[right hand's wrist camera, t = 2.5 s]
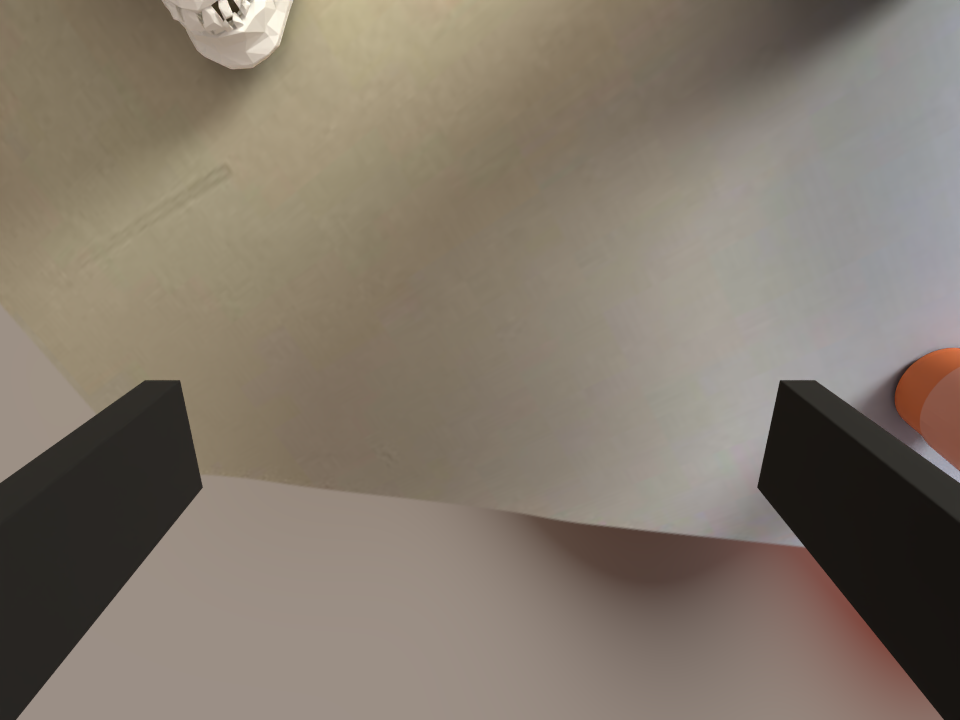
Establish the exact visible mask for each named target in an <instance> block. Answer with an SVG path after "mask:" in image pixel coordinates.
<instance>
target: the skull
mask: <svg viewBox="0 0 960 720" xmlns="http://www.w3.org/2000/svg"><path fill="white" fill-rule="evenodd" d="M216 1H218V5H219V9H220V11H221V13H222V15H223V18H224V19H225V20H224V21H223V20H222V18H221V17H220V16H219V14H218V13H217V12H216V11H215V9H214V8H213V7H212V6H211V5H212V4H213V3H215V2H216ZM162 2H163V3H164V5H165V6H166V8H167V9H168V10H169V11H170V13H171V15H172V17H173V19H175V20H177V21H179V22H180V23H181V24H182V26H183V27H184V28H185V29H186V31H187V34H188V35H189V37H190V39H191V41H192V43H193V44H194V46H195V48H196V50H197V51H198V52H200V53H201V54H202V55H203V56H204V57H206V58H208V59H210V60H212V61H215V62H217V63H219V64H221V65H223V66H225V67H227V68H229V69H246V68H253V67H255V66H256V65H258V64H259V63H261V62H262V61H264V60H265V59H267V58H268V57H269V56H270V55H271V54H272V53H273V52H274V51H275V50H276V49H277V48H278V47H279V45H280V42H281V39H282V35H283V32H284V28H285V25H286V22H287V18H288V15H289V11H290V8H291V5H292V3H293V0H234V2H235V3H236V5H237V6H238V7H239V9H240V10H239V11H238V13H235V12H234V13H232V11H231V8H230V6H229V3H228V1H227V0H162ZM232 16H233V19H232V20H230V21H229V22H227V21H226V19H228V18H230V17H232Z"/></svg>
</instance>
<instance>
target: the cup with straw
mask: <svg viewBox="0 0 960 720" xmlns="http://www.w3.org/2000/svg"><path fill="white" fill-rule="evenodd" d="M895 406H896V409H897V411H898V413H899V415H900V416H901V418H902V419H903V420H904V421H905V422H906V423H908V424H909V425H910V426H911V427H912V428H913V429H915V430H916V431H917V432H918V433H919V434H921V435H922V436H923V437H924V439H925V441H926V442H927V443H928V445H929V446H930V447H932V448H933V449H934V450H935V451H936V452H938V453H939V454H940V455H941V456H942V457H943V458H945V459H946V460H947V461H948V462H949V463H951V464H952V465H953V466H954V467H955V468H956V469H958V470H959V471H960V348H946V349H941V350H937V351H934V352H931V353H929V354H927V355H925V356H923V357H922V358H920V359H919V360H917V361H916V362H915V363H913V364H912V365H911V366H910V367H909V368H908V369H907V370H906V372H905V373H904V374H903V376H902V377H901V379H900V381H899V383H898V385H897V388H896V392H895Z"/></svg>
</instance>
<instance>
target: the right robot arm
mask: <svg viewBox="0 0 960 720" xmlns="http://www.w3.org/2000/svg"><path fill="white" fill-rule="evenodd" d="M202 488H203V487H202V482H201V478H200V473H199V468H198V463H197V458H196V454H195V449H194V444H193V440H192V435H191V430H190V425H189V421H188V416H187V411H186V407H185V402H184V397H183V392H182V388H181V383H180V380H145V381H143V382H142V383H141V384H139V385H138V386H136V387H135V388H134V389H132V390H131V391H129V392H128V393H127V394H125V395H124V396H122V397H121V398H119V399H118V400H117V401H115V402H114V403H112V404H111V405H110V406H108V407H107V408H105V409H104V410H103V411H101V412H100V413H98V414H97V415H96V416H94V417H93V418H91V419H90V420H89V421H87V422H86V423H84V424H83V425H82V426H80V427H79V428H77V429H76V430H74V431H73V432H72V433H70V434H69V435H67V436H66V437H65V438H63V439H62V440H60V441H59V442H58V443H56V444H55V445H53V446H52V447H51V448H49V449H48V450H46V451H45V452H43V453H42V454H41V455H39V456H38V457H36V458H35V459H34V460H32V461H31V462H29V463H28V464H27V465H25V466H24V467H22V468H21V469H20V470H18V471H17V472H15V473H14V474H12V475H11V476H10V477H8V478H7V479H5V480H4V481H3V482H1V483H0V720H16V719H17V718H18V717H19V715H20V714H21V713H22V712H23V710H24V709H25V708H26V707H27V705H28V704H29V703H30V702H31V700H32V699H33V698H34V697H35V695H36V694H37V693H38V692H39V690H40V689H41V688H42V687H43V685H44V684H45V683H46V682H47V680H48V679H49V678H50V677H51V675H52V674H53V673H54V672H55V670H56V669H57V668H58V667H59V666H60V664H61V663H62V662H63V660H64V659H65V658H66V657H67V656H68V654H69V653H70V652H71V651H72V649H73V648H74V647H75V646H76V644H77V643H78V642H79V641H80V639H81V638H82V637H83V636H84V634H85V633H86V632H87V631H88V629H89V628H90V627H91V626H92V624H93V623H94V622H95V621H96V620H97V618H98V617H99V616H100V615H101V613H102V612H103V611H104V609H105V608H106V607H107V606H108V605H109V603H110V602H111V601H112V600H113V598H114V597H115V596H116V595H117V593H118V592H119V591H120V590H121V588H122V587H123V586H124V585H125V583H126V582H127V581H128V580H129V578H130V577H131V576H132V575H133V573H134V572H135V571H136V570H137V569H138V567H139V566H140V565H141V564H142V562H143V561H144V560H145V559H146V557H147V556H148V555H149V554H150V552H151V551H152V550H153V549H154V547H155V546H156V545H157V544H158V542H159V541H160V540H161V539H162V537H163V536H164V535H165V534H166V532H167V531H168V530H169V529H170V527H171V526H172V525H173V524H174V522H175V521H176V520H177V519H178V518H179V516H180V515H181V514H182V513H183V511H184V510H185V509H186V508H187V506H188V505H189V504H190V503H191V501H192V500H193V499H194V498H195V496H196V495H197V494H198V493H199V491H200V490H201V489H202ZM757 488H758V489H759V490H760V491H761V493H762V494H763V495H764V496H765V498H766V499H767V500H768V501H769V503H770V504H771V505H772V506H773V508H774V509H775V510H776V511H777V513H778V514H779V515H780V516H781V518H782V519H783V520H784V521H785V522H786V524H787V525H788V526H789V527H790V529H791V530H792V531H793V532H794V534H795V535H796V536H797V537H798V539H799V540H800V541H801V542H802V544H803V545H804V546H805V547H806V549H807V550H808V551H809V552H810V554H811V555H812V556H813V557H814V559H815V560H816V561H817V562H818V564H819V565H820V566H821V567H822V568H823V570H824V571H825V572H826V573H827V575H828V576H829V577H830V578H831V580H832V581H833V582H834V583H835V585H836V586H837V587H838V588H839V590H840V591H841V592H842V593H843V595H844V596H845V597H846V598H847V600H848V601H849V602H850V603H851V605H852V606H853V607H854V608H855V610H856V611H857V612H858V613H859V615H860V616H861V617H862V618H863V619H864V621H865V622H866V623H867V624H868V626H869V627H870V628H871V629H872V631H873V632H874V633H875V634H876V636H877V637H878V638H879V639H880V641H881V642H882V643H883V644H884V646H885V647H886V648H887V649H888V651H889V652H890V653H891V654H892V656H893V657H894V658H895V659H896V661H897V662H898V663H899V664H900V666H901V667H902V668H903V669H904V670H905V672H906V673H907V674H908V675H909V677H910V678H911V679H912V680H913V682H914V683H915V684H916V685H917V687H918V688H919V689H920V690H921V692H922V693H923V694H924V695H925V697H926V698H927V699H928V700H929V702H930V703H931V704H932V705H933V707H934V708H935V709H936V710H937V712H938V713H939V714H940V715H941V717H942V718H943V719H944V720H960V483H959V482H957V481H956V480H955V479H953V478H952V477H950V476H949V475H948V474H946V473H945V472H943V471H942V470H940V469H939V468H938V467H936V466H935V465H933V464H932V463H931V462H929V461H928V460H926V459H925V458H924V457H922V456H921V455H919V454H918V453H917V452H915V451H914V450H912V449H911V448H909V447H908V446H907V445H905V444H904V443H902V442H901V441H900V440H898V439H897V438H895V437H894V436H893V435H891V434H890V433H888V432H887V431H886V430H884V429H883V428H881V427H880V426H879V425H877V424H876V423H874V422H873V421H871V420H870V419H869V418H867V417H866V416H864V415H863V414H862V413H860V412H859V411H857V410H856V409H855V408H853V407H852V406H850V405H849V404H848V403H846V402H845V401H843V400H842V399H841V398H839V397H838V396H836V395H835V394H833V393H832V392H831V391H829V390H828V389H826V388H825V387H824V386H822V385H821V384H819V383H818V382H817V381H815V380H780V383H779V388H778V392H777V397H776V402H775V407H774V411H773V416H772V421H771V425H770V430H769V435H768V440H767V444H766V449H765V454H764V458H763V463H762V468H761V473H760V477H759V482H758V487H757Z"/></svg>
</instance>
